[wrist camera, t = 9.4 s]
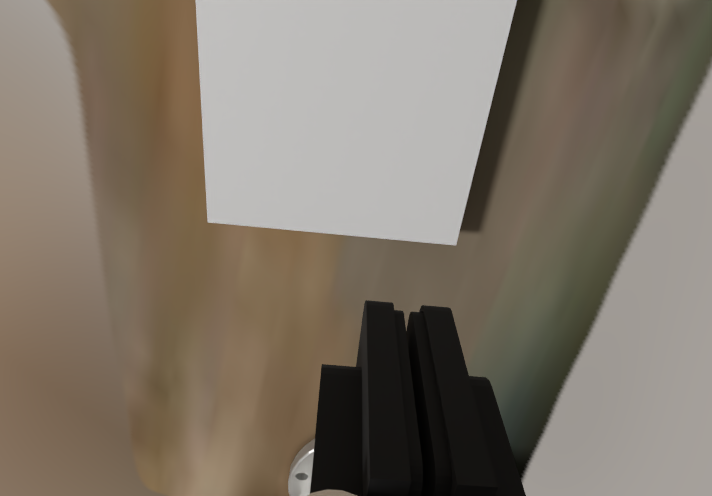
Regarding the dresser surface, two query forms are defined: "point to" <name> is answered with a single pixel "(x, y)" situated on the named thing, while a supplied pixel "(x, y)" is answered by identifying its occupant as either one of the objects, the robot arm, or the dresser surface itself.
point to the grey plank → (347, 112)
